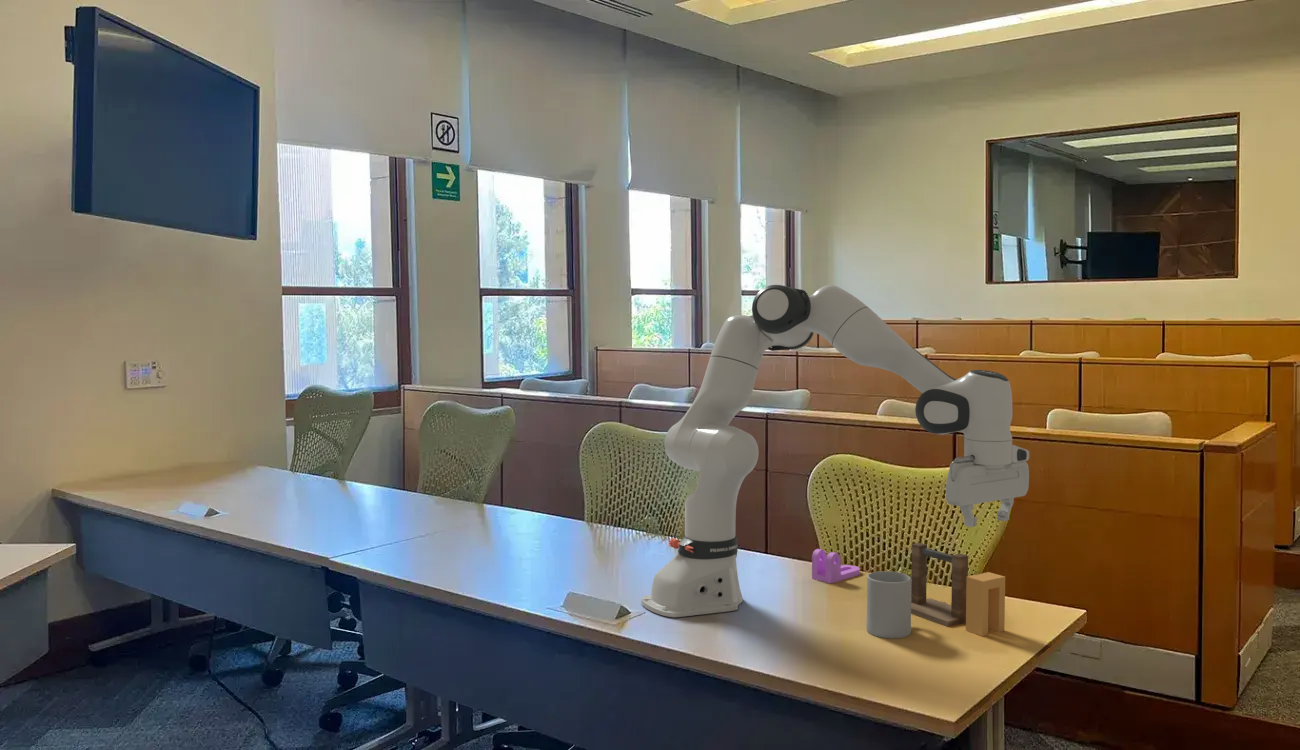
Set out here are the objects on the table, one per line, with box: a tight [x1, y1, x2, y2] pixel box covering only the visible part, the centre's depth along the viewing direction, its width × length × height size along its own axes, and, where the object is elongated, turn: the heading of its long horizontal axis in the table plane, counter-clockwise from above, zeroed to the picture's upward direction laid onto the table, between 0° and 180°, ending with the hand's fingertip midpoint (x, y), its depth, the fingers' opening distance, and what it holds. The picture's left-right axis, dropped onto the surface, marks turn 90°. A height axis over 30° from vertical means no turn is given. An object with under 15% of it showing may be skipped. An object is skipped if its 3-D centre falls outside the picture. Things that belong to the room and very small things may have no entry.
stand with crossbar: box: [910, 542, 969, 627], centre depth 196 cm, size 9×13×14 cm
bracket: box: [811, 548, 861, 584], centre depth 226 cm, size 13×6×7 cm, turn 131°
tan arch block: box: [965, 571, 1006, 637], centre depth 186 cm, size 6×4×11 cm, turn 120°
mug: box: [865, 570, 912, 639], centre depth 187 cm, size 12×8×11 cm
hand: (987, 523), depth 186 cm, fingers open, 8 cm apart
